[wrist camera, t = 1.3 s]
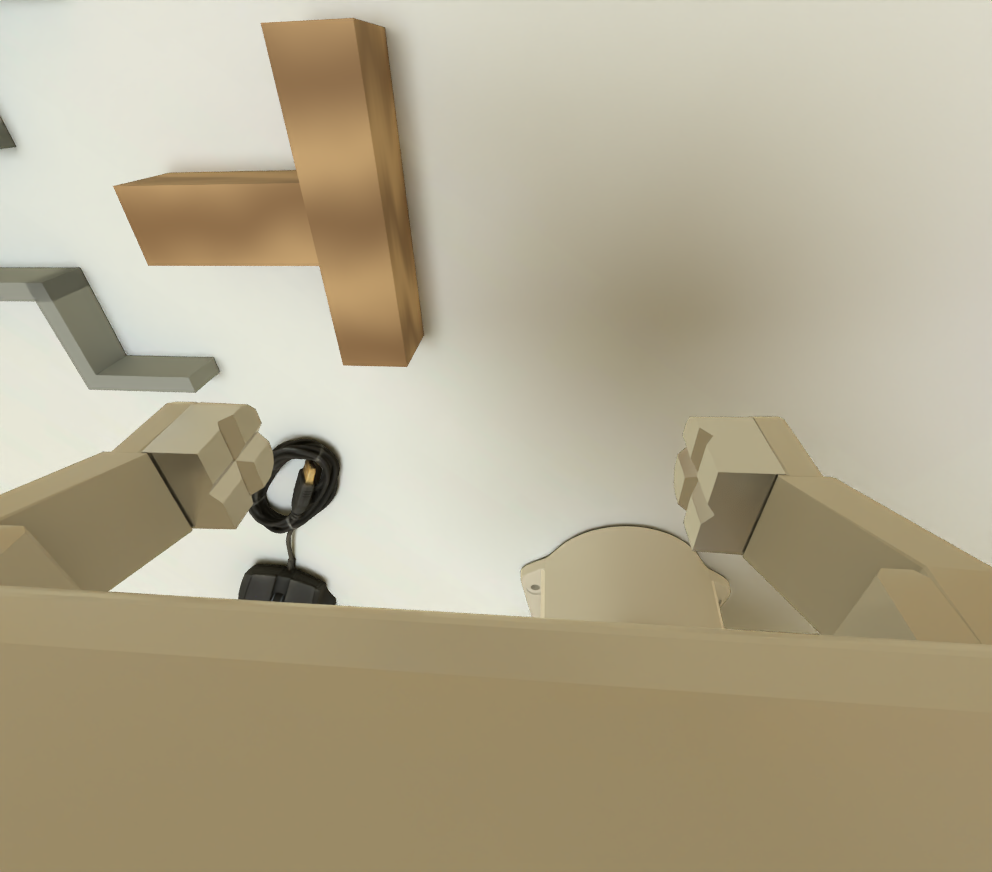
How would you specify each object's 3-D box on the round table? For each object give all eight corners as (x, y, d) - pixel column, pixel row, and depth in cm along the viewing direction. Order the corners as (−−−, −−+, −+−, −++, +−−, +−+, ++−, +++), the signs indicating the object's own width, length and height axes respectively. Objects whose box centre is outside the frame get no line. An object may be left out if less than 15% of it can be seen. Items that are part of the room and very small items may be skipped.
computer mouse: (251, 623, 58) (226, 668, 54) (247, 412, 39) (207, 454, 34) (329, 644, 59) (310, 689, 54) (362, 446, 40) (338, 492, 35)
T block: (423, 335, 33) (407, 366, 29) (229, 332, 34) (191, 361, 31) (384, 27, 24) (353, 18, 20) (119, 40, 25) (45, 34, 21)
